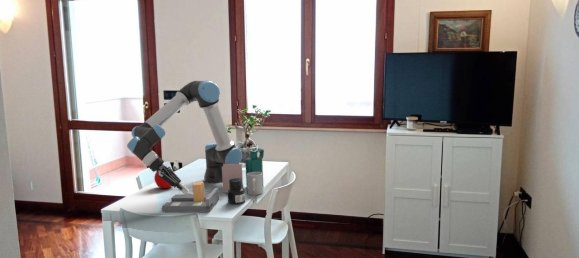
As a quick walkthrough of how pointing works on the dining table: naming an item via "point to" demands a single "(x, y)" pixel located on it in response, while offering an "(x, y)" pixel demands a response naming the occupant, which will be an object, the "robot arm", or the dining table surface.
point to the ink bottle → (236, 191)
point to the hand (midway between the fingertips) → (187, 193)
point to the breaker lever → (198, 192)
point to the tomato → (161, 181)
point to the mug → (254, 183)
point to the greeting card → (231, 174)
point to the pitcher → (254, 162)
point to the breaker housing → (191, 203)
